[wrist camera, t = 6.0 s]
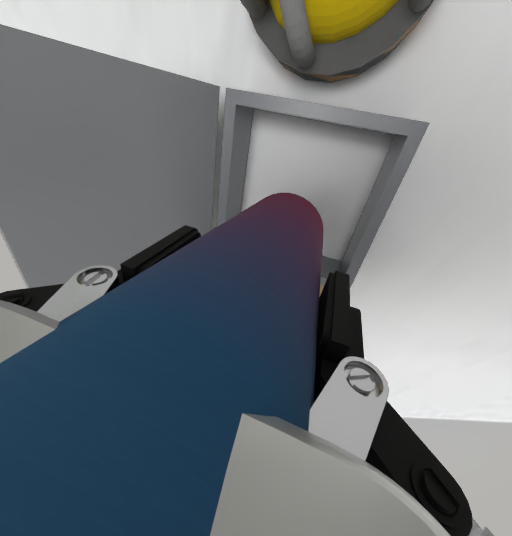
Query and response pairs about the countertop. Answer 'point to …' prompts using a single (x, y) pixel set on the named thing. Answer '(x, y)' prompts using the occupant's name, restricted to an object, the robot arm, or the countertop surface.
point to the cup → (163, 382)
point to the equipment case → (399, 153)
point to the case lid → (97, 156)
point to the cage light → (333, 33)
